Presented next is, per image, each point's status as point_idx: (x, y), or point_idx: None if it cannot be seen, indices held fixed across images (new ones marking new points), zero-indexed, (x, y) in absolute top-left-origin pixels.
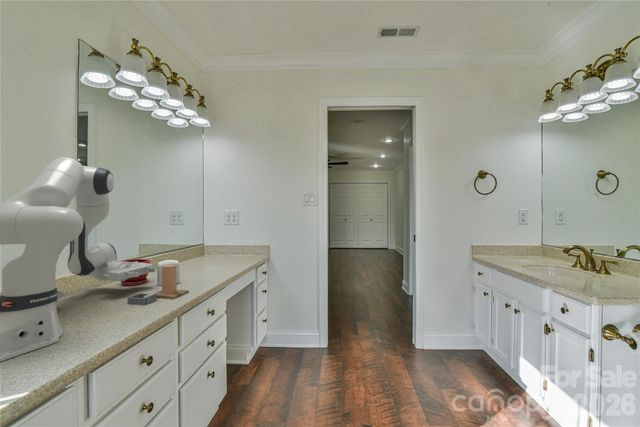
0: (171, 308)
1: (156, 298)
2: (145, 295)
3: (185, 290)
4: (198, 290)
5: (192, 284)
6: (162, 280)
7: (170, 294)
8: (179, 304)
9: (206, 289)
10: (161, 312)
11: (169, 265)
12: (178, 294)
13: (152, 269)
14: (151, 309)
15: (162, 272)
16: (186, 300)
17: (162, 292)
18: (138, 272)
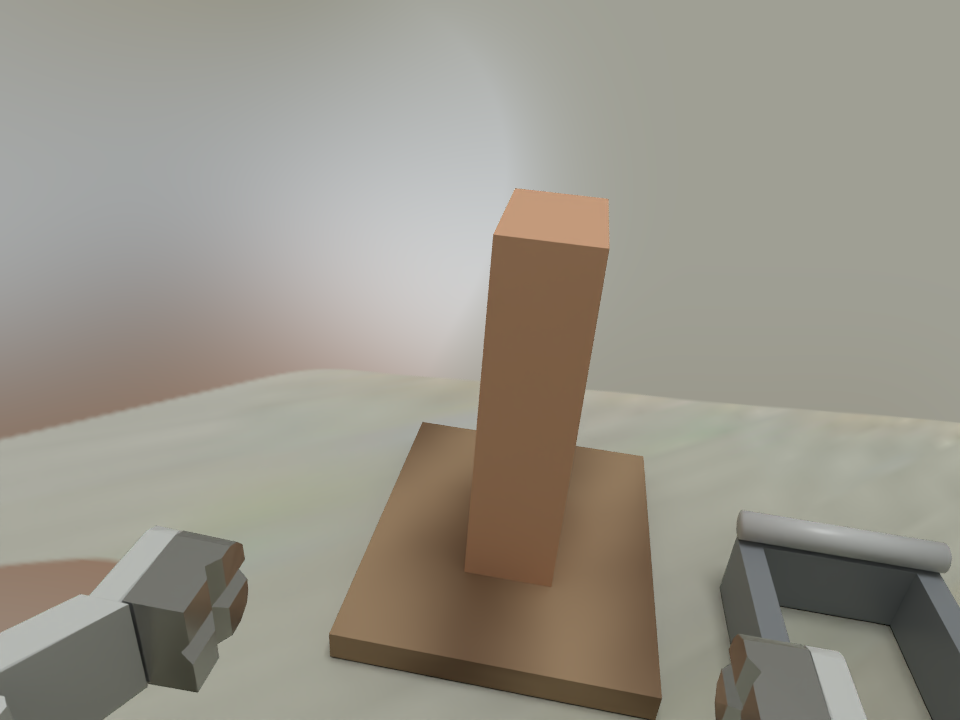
0: (836, 424)
1: (725, 572)
2: None
3: (420, 440)
4: (345, 403)
5: (26, 496)
6: (575, 442)
7: (577, 499)
8: (741, 412)
9: (321, 371)
10: (934, 444)
11: (523, 216)
12: None
13: (226, 566)
14: (941, 516)
15: (592, 338)
16: (642, 403)
17: (552, 572)
18: (759, 645)
